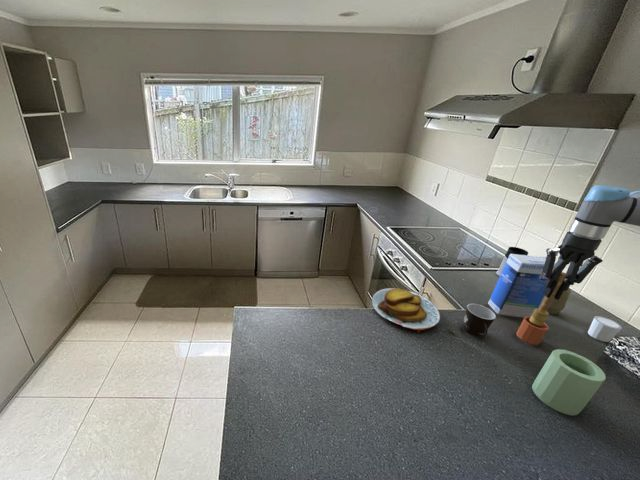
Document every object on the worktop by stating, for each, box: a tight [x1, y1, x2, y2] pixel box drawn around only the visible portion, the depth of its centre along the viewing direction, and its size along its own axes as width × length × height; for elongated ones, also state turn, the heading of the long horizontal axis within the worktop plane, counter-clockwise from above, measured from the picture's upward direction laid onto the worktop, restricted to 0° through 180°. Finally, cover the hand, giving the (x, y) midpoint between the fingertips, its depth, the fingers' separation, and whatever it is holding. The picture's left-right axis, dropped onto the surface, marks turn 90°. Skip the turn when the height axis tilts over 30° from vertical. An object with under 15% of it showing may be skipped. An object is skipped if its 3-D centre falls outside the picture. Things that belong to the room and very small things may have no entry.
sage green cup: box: [531, 348, 607, 416], centre depth 80 cm, size 10×10×14 cm
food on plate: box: [371, 287, 441, 333], centre depth 115 cm, size 25×25×7 cm
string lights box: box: [487, 254, 557, 319], centre depth 113 cm, size 13×8×26 cm, turn 80°
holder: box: [495, 246, 529, 277], centre depth 139 cm, size 9×14×15 cm, turn 167°
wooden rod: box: [529, 271, 567, 326], centre depth 97 cm, size 4×4×21 cm
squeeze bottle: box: [538, 285, 571, 315], centre depth 117 cm, size 8×8×18 cm
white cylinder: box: [587, 315, 623, 343], centre depth 106 cm, size 7×7×7 cm
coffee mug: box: [461, 303, 497, 338], centre depth 104 cm, size 12×9×10 cm
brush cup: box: [515, 316, 550, 346], centre depth 103 cm, size 7×7×8 cm
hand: (550, 296), depth 96 cm, fingers closed on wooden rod, 2 cm apart
